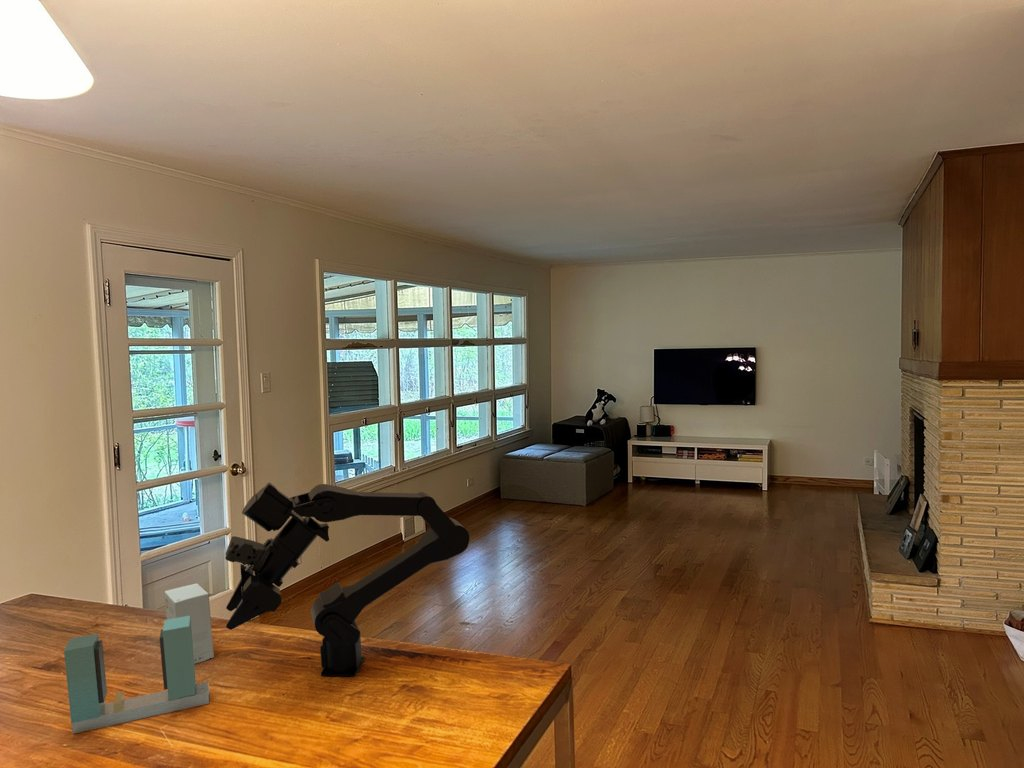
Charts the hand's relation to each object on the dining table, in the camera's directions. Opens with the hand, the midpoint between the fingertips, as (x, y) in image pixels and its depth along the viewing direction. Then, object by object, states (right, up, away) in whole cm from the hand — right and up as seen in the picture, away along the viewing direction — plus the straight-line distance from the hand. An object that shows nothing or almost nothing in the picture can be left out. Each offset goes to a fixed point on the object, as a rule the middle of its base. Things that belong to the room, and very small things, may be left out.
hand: (228, 618), depth 122 cm
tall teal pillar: (-7, -12, -2) cm, 14 cm away
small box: (-13, -13, +15) cm, 24 cm away
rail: (-12, -14, -4) cm, 19 cm away
